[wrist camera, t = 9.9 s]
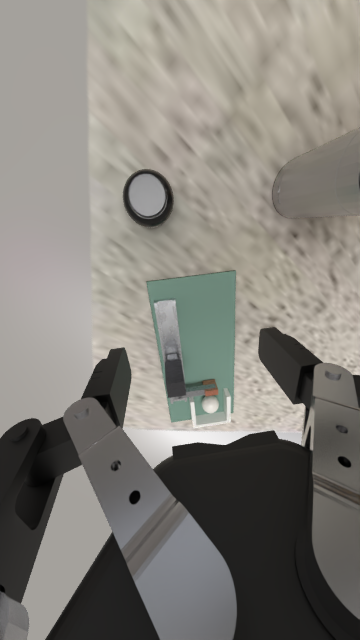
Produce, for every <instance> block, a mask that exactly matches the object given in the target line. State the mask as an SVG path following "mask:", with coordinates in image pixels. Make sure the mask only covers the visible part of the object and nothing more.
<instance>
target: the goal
mask: <svg viewBox="0 0 360 640" xmlns="http://www.w3.org/2000/svg"><path fill="white" fill-rule="evenodd" d="M223 390H224V411H223V412H217V413H210V414H204V415H197V416H196V415H195V405H194V399H193V397H189V401H190V410H191V419H192V425H193V428H199V427H205V426H211V425H218V424H224V423H230V422H231V396H230V393H229V391H228V389H227V388H223Z"/></svg>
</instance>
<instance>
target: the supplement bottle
mask: <svg viewBox="0 0 360 640" xmlns="http://www.w3.org/2000/svg"><path fill="white" fill-rule="evenodd" d="M123 202H124V206H125V209H126V211H127V213H128V214H129V216H130V217H131V218H132V219H133V220H134V221H135V222H136V223H138V224H139V225H142V226H144V227H150V228H153V227H158V226H160V225H162V224H163V223H164V222H165V221H166V220H167V219H168V217H169V216H170V214H171V212H172V209H173V202H174V200H173V192H172V189H171V186H170V184H169V183H168V181H167V180H166V178H165V177H164V176H163V175H161V174H160V173H158V172H156V171H154V170H151V169H142V170H139V171H137V172H135V173H133V174H132V175H131V176H130V177H129V178H128V180H127V181H126V184H125V186H124V190H123Z"/></svg>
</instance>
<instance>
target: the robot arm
mask: <svg viewBox="0 0 360 640" xmlns="http://www.w3.org/2000/svg"><path fill="white" fill-rule="evenodd" d="M273 203H274V206H275V208H276V210H277V211H278V212H279V213H280V214H281V215H282V216H284V217H287V218H312V217H333V216H355V215H360V127H359V128H357V129H355V130H353V131H351V132H349V133H347V134H345V135H343V136H341V137H338V138H336V139H334V140H332V141H330V142H328V143H326V144H324V145H322V146H320V147H318V148H316V149H314V150H311V151H309V152H307V153H305V154H303V155H301V156H299V157H297V158H295V159H293V160H291V161H290V162H288V163H287V164H286V165H285V166H284V167H283V168H282V170H281V171H280V172H279V174H278V176H277V178H276V180H275V183H274V187H273ZM258 353H259V358H260V360H261V362H262V363H263V364H264V366H265V367H266V368H267V370H268V371H269V372H270V374H271V375H272V376H273V378H274V379H275V380H276V382H277V383H278V384H279V386H280V387H281V388H282V390H283V391H284V392H285V394H286V395H287V396H288V398H289V399H290V400H291V402H292V403H293V404H300V403H303V404H304V405H305V410H304V419H303V430H302V441H301V445H299V444H297V443H294V442H291V441H287V440H282V439H279V438H278V436H277V435H276V433H275V431H274V430H273V431H267V432H260V433H254V434H249V435H247V436H245V437H243V438H240V439H239V440H236V441H234V442H232V443H230V444H227V445H217V444H207V443H192V444H185V445H179V446H173V447H172V450H173V456H171V457H169V458H167V459H166V460H164V461H162V462H161V463H160V464H159V465H157V466H156V467H155V468H154V469H152V468H151V466H150V465H149V464H148V462H147V461H146V460H145V458H144V457H143V456H142V454H141V453H140V452H139V450H138V449H137V448H136V447H135V445H134V444H133V442H132V441H131V440H130V438H129V437H128V436H127V434H126V433H125V432H124V430H123V429H122V428H123V423H124V417H125V412H126V406H127V400H128V395H129V389H130V384H131V369H130V365H129V361H128V357H127V353H126V350H125V348H117V349H111V350H110V352H109V355H108V357H107V359H102V360H101V361H100V362H99V363H98V364H97V365H96V366H95V369H94V371H93V374H92V376H91V378H90V380H89V382H88V385H87V387H86V389H85V391H84V393H83V396H82V398H81V400H78V401H77V402H75V403H73V404H72V405H71V406H70V407H69V408H68V409H67V410H66V411H65V413H64V416H63V417H61V418H59V419H57V420H54V421H51V422H49V423H46V424H44V425H42V424H41V422H40V421H39V420H38V419H34V418H32V419H27V420H24V421H21V422H19V423H18V424H16V425H14V426H13V427H11V428H10V429H9V430H8V431H6V432H5V434H4V435H3V436H2V437H1V438H0V640H27V636H28V629H29V617H28V612H27V610H26V608H25V607H24V606H23V605H22V604H21V602H22V599H23V596H24V593H25V590H26V587H27V584H28V581H29V578H30V575H31V572H32V569H33V565H34V562H35V559H36V556H37V553H38V550H39V547H40V544H41V541H42V538H43V535H44V532H45V529H46V526H47V523H48V520H49V517H50V514H51V511H52V508H53V504H54V502H55V499H56V496H57V492H58V490H59V486H60V483H61V480H62V477H63V474H64V473H66V472H68V471H70V470H72V469H74V468H76V467H78V466H80V465H83V467H84V469H85V471H86V474H87V476H88V478H89V480H90V483H91V485H92V487H93V489H94V491H95V494H96V496H97V498H98V501H99V503H100V505H101V507H102V509H103V512H104V514H105V516H106V518H107V521H108V523H109V525H110V527H111V529H112V533H111V535H110V537H109V538H108V540H107V541H106V543H105V545H104V546H103V548H102V550H101V551H100V553H99V554H98V556H97V558H96V559H95V561H94V562H93V564H92V566H91V567H90V569H89V571H88V572H87V574H86V575H85V577H84V578H83V580H82V582H81V583H80V585H79V586H78V588H77V590H76V591H75V593H74V594H73V596H72V598H71V599H70V601H69V603H68V604H67V606H66V607H65V609H64V610H63V612H62V614H61V615H60V617H59V619H58V620H57V622H56V623H55V625H54V627H53V628H52V630H51V631H50V633H49V635H48V636H47V638H46V639H45V640H360V375H352V374H351V373H350V372H349V371H348V370H346V369H345V368H343V367H341V366H338V365H335V364H331V363H323V362H322V361H321V360H320V359H318V358H317V357H316V356H315V355H314V354H312V353H311V352H310V351H309V350H308V349H306V348H305V347H304V346H303V345H302V344H300V343H299V342H298V341H297V340H296V339H295V338H293V337H291V336H288V335H286V334H282V333H281V332H280V331H279V330H278V329H277V328H275V327H271V328H264V329H261V330H260V337H259V349H258Z"/></svg>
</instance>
